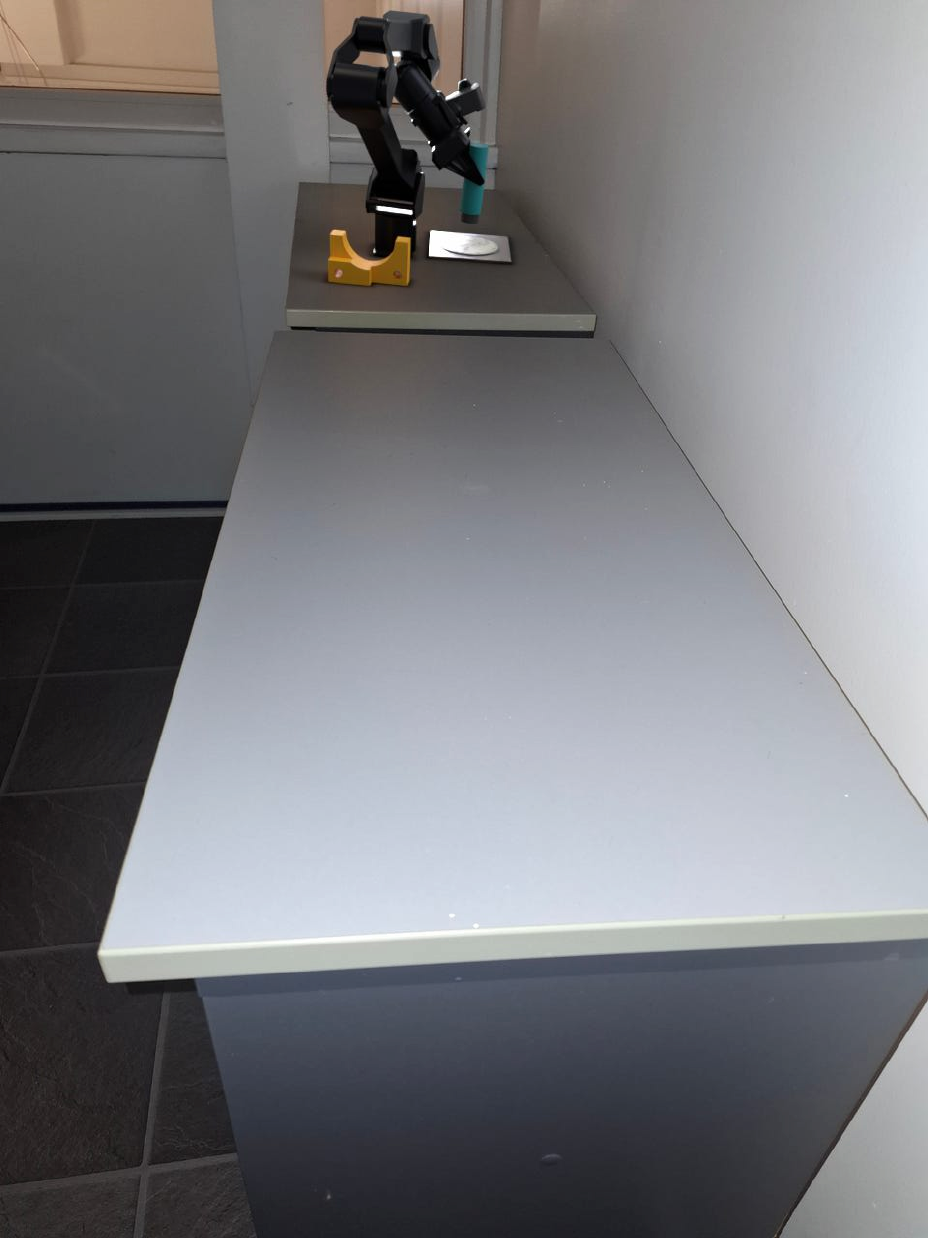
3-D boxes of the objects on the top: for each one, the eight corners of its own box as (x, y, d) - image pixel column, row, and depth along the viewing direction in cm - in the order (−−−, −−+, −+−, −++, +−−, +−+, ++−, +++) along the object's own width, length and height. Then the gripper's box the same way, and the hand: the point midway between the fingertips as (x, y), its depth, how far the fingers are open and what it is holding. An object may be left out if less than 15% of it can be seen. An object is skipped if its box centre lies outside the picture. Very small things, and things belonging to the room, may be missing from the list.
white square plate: (428, 258, 144) (428, 254, 144) (430, 232, 155) (430, 229, 155) (511, 263, 145) (511, 260, 145) (507, 238, 156) (507, 235, 155)
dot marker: (470, 225, 147) (479, 147, 139) (454, 219, 149) (462, 142, 141) (483, 223, 149) (493, 146, 142) (468, 217, 151) (477, 141, 143)
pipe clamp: (328, 281, 132) (327, 237, 128) (334, 272, 136) (333, 229, 132) (405, 289, 132) (406, 246, 128) (409, 280, 135) (410, 237, 131)
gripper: (458, 70, 127) (523, 159, 134) (458, 53, 141) (517, 134, 149) (403, 126, 131) (469, 209, 139) (409, 103, 146) (468, 180, 153)
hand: (482, 181), depth 145 cm, fingers closed on dot marker, 3 cm apart
